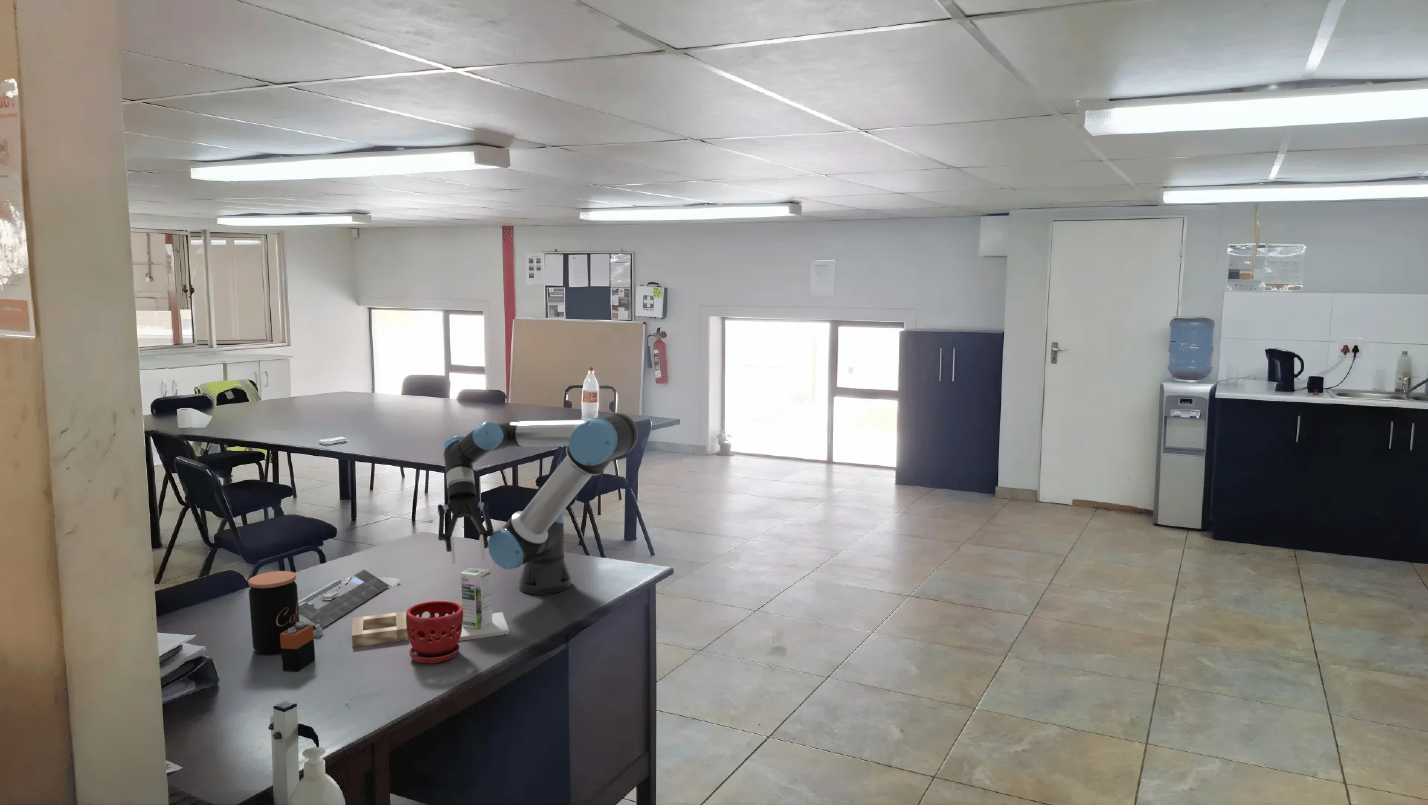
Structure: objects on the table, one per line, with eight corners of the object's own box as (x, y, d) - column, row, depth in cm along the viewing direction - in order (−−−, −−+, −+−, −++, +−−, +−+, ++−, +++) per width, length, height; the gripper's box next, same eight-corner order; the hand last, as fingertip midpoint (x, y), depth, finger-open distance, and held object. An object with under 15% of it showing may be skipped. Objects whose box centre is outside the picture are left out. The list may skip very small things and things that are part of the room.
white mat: (502, 615, 245) (502, 612, 245) (509, 634, 232) (509, 630, 232) (448, 622, 240) (448, 619, 240) (452, 641, 227) (452, 638, 227)
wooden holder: (406, 622, 241) (405, 611, 241) (407, 639, 229) (407, 628, 228) (353, 628, 237) (353, 617, 236) (352, 647, 224) (351, 635, 224)
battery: (316, 660, 216) (313, 620, 215) (298, 672, 210) (295, 631, 209) (300, 659, 217) (297, 619, 216) (281, 671, 211) (278, 630, 209)
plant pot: (434, 671, 210) (431, 622, 208) (396, 660, 217) (393, 611, 215) (476, 652, 221) (474, 605, 219) (439, 641, 228) (436, 595, 226)
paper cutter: (252, 635, 234) (251, 614, 233) (349, 580, 278) (348, 562, 277) (316, 639, 231) (315, 618, 230) (404, 583, 275) (403, 565, 274)
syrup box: (461, 627, 234) (459, 572, 232) (475, 619, 240) (473, 566, 238) (480, 630, 232) (477, 575, 230) (493, 622, 238) (491, 568, 236)
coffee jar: (282, 658, 218) (276, 585, 216) (243, 654, 220) (237, 583, 218) (310, 641, 229) (305, 572, 226) (272, 638, 231) (267, 569, 228)
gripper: (496, 491, 260) (505, 562, 247) (423, 496, 253) (429, 570, 240) (498, 477, 254) (507, 549, 242) (424, 482, 247) (429, 556, 235)
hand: (468, 559), depth 241 cm, fingers open, 7 cm apart
